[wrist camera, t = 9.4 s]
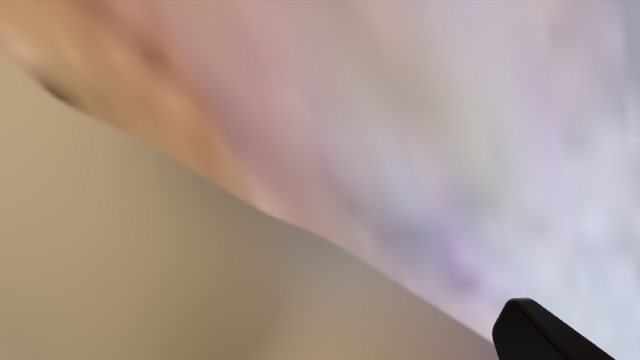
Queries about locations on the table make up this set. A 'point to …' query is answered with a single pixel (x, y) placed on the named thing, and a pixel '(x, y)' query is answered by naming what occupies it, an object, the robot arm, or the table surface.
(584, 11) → the table surface
